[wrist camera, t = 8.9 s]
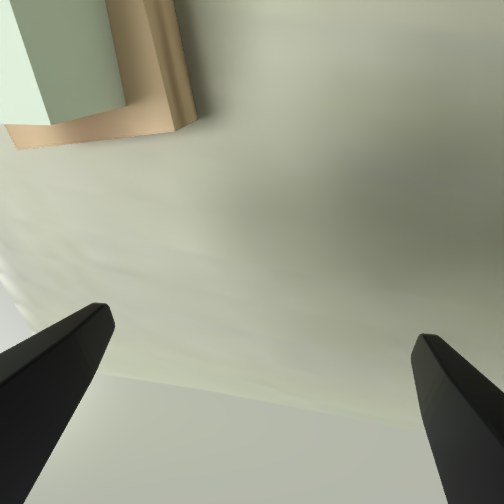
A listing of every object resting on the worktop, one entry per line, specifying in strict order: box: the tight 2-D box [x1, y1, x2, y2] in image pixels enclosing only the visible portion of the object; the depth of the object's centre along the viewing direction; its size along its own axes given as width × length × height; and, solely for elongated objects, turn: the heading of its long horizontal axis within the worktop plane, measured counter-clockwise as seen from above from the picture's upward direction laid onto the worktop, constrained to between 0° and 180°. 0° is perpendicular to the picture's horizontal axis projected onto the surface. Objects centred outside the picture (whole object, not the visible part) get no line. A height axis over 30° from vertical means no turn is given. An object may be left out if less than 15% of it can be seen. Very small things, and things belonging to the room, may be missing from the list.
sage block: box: [0, 0, 126, 125], centre depth 11 cm, size 5×5×5 cm
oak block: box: [4, 0, 197, 150], centre depth 15 cm, size 9×9×4 cm
